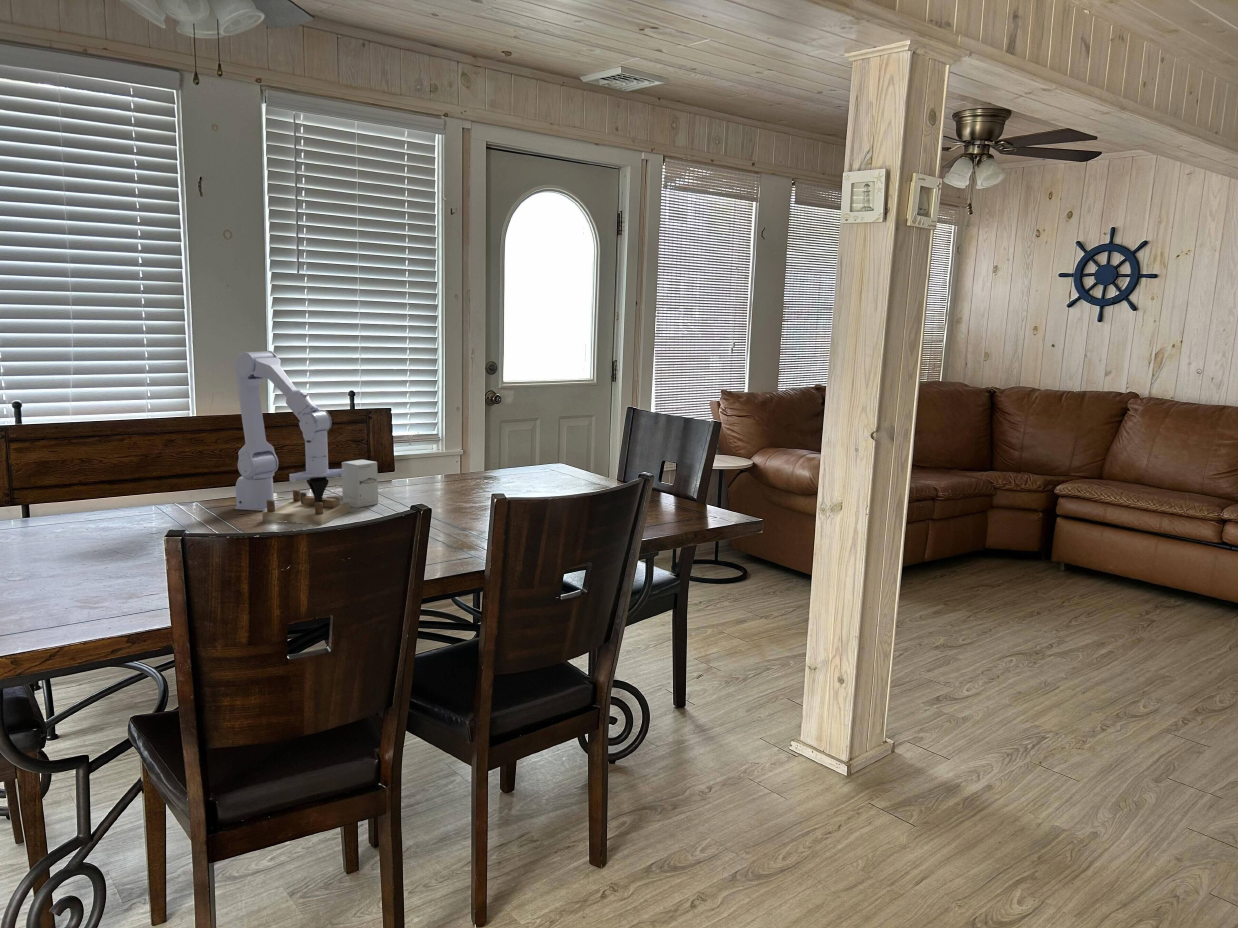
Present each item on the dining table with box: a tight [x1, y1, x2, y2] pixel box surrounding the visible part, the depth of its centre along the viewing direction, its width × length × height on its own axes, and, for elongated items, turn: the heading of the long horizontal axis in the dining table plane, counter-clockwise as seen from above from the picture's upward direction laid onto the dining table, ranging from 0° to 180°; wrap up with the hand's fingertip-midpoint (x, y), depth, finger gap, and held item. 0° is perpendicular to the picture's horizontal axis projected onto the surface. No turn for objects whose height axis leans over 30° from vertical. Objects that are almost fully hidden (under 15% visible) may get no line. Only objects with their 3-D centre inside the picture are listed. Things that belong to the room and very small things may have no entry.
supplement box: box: [341, 459, 379, 509], centre depth 262 cm, size 7×7×13 cm
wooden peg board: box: [261, 489, 351, 526], centre depth 248 cm, size 17×16×6 cm
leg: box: [300, 491, 338, 508], centre depth 249 cm, size 11×2×3 cm, turn 69°
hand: (318, 505), depth 247 cm, fingers closed
